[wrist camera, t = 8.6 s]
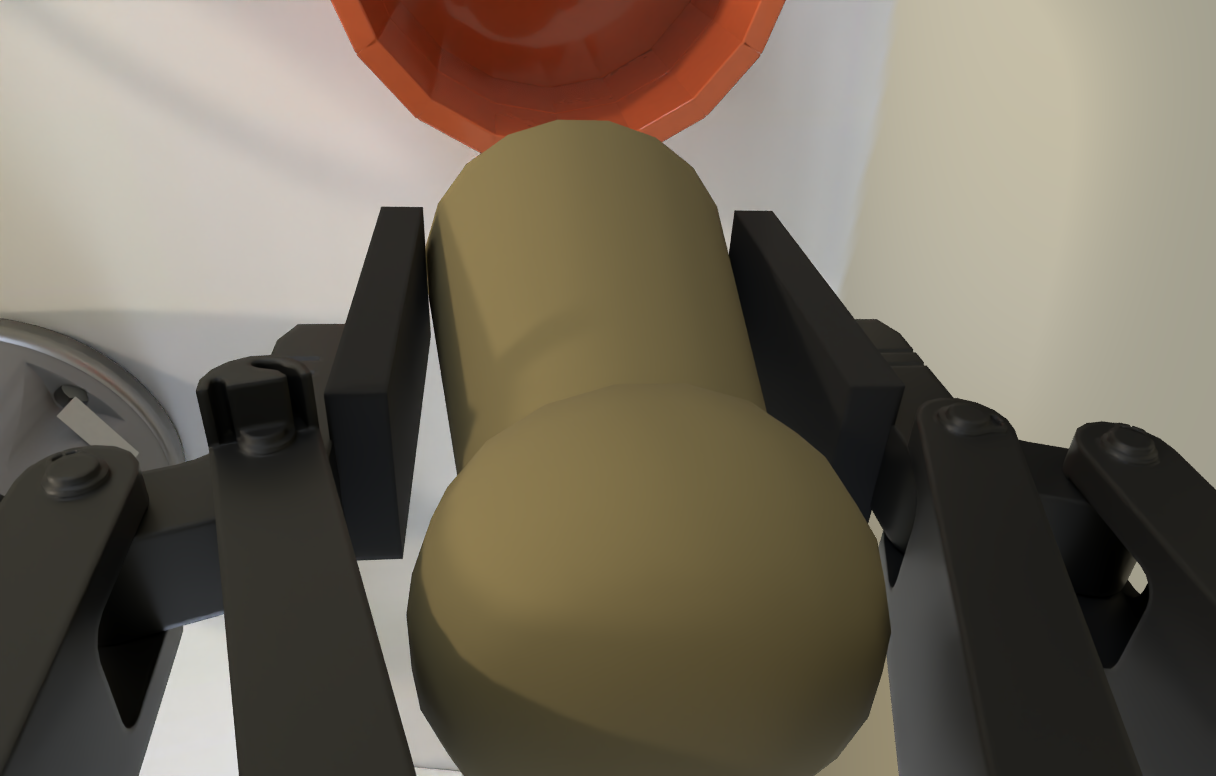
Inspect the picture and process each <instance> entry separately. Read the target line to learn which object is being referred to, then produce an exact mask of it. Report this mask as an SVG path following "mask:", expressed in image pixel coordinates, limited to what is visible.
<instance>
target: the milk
mask: <svg viewBox="0 0 1216 776" xmlns="http://www.w3.org/2000/svg"><path fill="white" fill-rule="evenodd" d="M414 768H415V772H416V775H417V776H463V774H462V773H461V771H450V770H440V769H429V768H418V767H414Z"/></svg>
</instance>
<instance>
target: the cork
mask: <svg viewBox="0 0 1216 776" xmlns="http://www.w3.org/2000/svg"><path fill="white" fill-rule="evenodd" d="M425 250H426V267H427V283H428V295H429V302H430V308H431V314H432V320H433V327H434V333H435V339H436V345H437V352H438V358H439V364H440V370H441V377H442V383H443V389H444V395H445V402H446V408H447V414H448V420H449V427H450V433H451V439H452V445H453V452H454V458H455V464H456V470H457V477H456V478H455V479H454V480H453V481H452V483H451V484H450V485H449V486H448V487H447V489H446V491H445V493H444V495H443V497H442V499H441V501H440V503H439V505H438V506H437V508H436V510H435V512H434V514H433V516H432V518H431V521H430V524H429V527H428V529H427V532H426V535H425V538H424V541H423V544H422V547H421V550H420V552H419V555H418V558H417V561H416V564H415V567H414V570H413V572H412V577H411V584H410V592H409V599H408V606H407V614H406V616H407V626H408V636H409V646H410V656H411V666H412V672H413V677H414V682H415V686H416V691H417V696H418V700H419V705H420V709H421V711H422V713H423V714H424V716H425V718H426V719H427V721H428V722H429V724H430V726H431V727H432V729H433V731H434V732H435V734H436V735H437V737H438V739H439V740H440V742H441V743H442V745H443V747H444V748H445V750H446V752H447V753H448V755H449V756H450V757H451V759H452V760H453V762H454V763H455V764H456V766H457V767H458V769H459V770H460V771H461V773H462V774H463V776H814V775H816V774H817V773H818V772H820V771H821V770H822V769H823V768H825V767H826V766H827V765H829V764H830V763H831V762H833V761H834V760H835V759H836V758H837V757H838V756H839V755H840V754H841V752H842V751H843V750H844V748H845V747H846V746H847V744H848V743H849V742H850V740H851V739H852V738H853V736H854V735H855V734H856V733H857V731H858V730H859V729H860V727H861V726H862V725H863V723H864V722H865V721H866V720H867V718H868V716H869V713H870V710H871V707H872V704H873V700H874V697H875V694H876V691H877V688H878V685H879V682H880V678H881V675H882V672H883V667H884V663H885V658H886V654H887V650H888V645H889V641H890V636H891V625H890V617H889V610H888V602H887V594H886V587H885V580H884V574H883V569H882V564H881V559H880V553H879V548H878V543H877V539H876V537H875V535H874V534H873V532H872V530H871V529H870V527H869V525H868V523H867V522H866V520H865V518H864V517H863V515H862V513H861V511H860V510H859V508H858V506H857V504H856V503H855V501H854V500H853V498H852V497H851V495H850V494H849V492H848V491H847V489H846V488H845V486H844V485H843V483H842V482H841V480H840V479H839V477H838V476H837V474H836V472H835V471H834V469H833V468H832V466H831V465H830V463H829V462H828V460H827V459H826V457H825V456H824V455H822V454H821V453H820V452H819V451H818V450H816V449H815V448H814V447H813V446H812V445H811V444H809V443H808V442H807V441H806V440H805V439H803V438H802V437H801V436H800V435H799V434H798V433H796V432H795V431H793V430H792V429H790V428H789V427H787V426H786V425H784V424H783V423H781V422H780V421H778V420H777V419H775V418H774V417H773V416H771V415H770V414H768V413H767V411H766V406H765V402H764V398H763V394H762V390H761V386H760V382H759V378H758V374H757V369H756V365H755V361H754V357H753V353H752V349H751V345H750V341H749V337H748V332H747V328H746V324H745V320H744V316H743V312H742V308H741V304H740V300H739V295H738V291H737V287H736V283H735V279H734V275H733V271H732V267H731V263H730V258H729V254H728V250H727V246H726V242H725V238H724V234H723V230H722V226H721V221H720V217H719V213H718V209H717V206H716V204H715V202H714V201H713V199H712V198H711V196H710V194H709V193H708V191H707V189H706V188H705V186H704V185H703V183H702V181H701V180H700V178H699V176H698V175H697V173H696V172H695V170H694V168H693V167H692V166H691V165H689V164H688V163H687V162H686V161H684V160H683V159H682V158H681V157H679V156H678V155H677V154H676V153H674V152H673V151H672V150H671V149H669V148H668V147H667V146H666V145H664V144H663V143H662V142H661V141H659V140H658V139H657V138H656V137H653V136H650V135H647V134H644V133H642V132H639V131H636V130H633V129H630V128H628V127H625V126H622V125H619V124H616V123H614V122H611V121H597V120H555V121H551V122H548V123H545V124H541V125H538V126H535V127H532V128H528V129H525V130H522V131H519V132H515V133H512V134H509V135H507V136H505V137H504V138H503V139H501V140H500V141H498V142H497V143H496V144H494V145H493V146H491V147H490V148H489V149H487V150H486V151H484V152H483V153H481V154H480V155H479V156H477V157H476V158H474V159H473V160H472V161H470V162H469V163H467V164H466V166H465V167H464V168H463V170H462V171H461V172H460V174H459V175H458V177H457V178H456V179H455V181H454V182H453V184H452V185H451V186H450V188H449V189H448V191H447V192H446V193H445V195H444V196H443V198H442V199H441V200H440V202H439V203H438V206H437V209H436V213H435V216H434V220H433V223H432V226H431V230H430V233H429V237H428V240H427V244H426V247H425Z"/></svg>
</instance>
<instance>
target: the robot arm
mask: <svg viewBox="0 0 1216 776" xmlns="http://www.w3.org/2000/svg"><path fill="white" fill-rule="evenodd" d="M729 258H730V263H731V267H732V271H733V275H734V279H735V283H736V287H737V291H738V295H739V300H740V304H741V308H742V312H743V316H744V320H745V324H746V328H747V332H748V337H749V341H750V345H751V349H752V353H753V357H754V361H755V365H756V369H757V374H758V378H759V382H760V386H761V390H762V394H763V398H764V402H765V406H766V411H767V413H768V414H770V415H771V416H773V417H774V418H775V419H777V420H778V421H780V422H781V423H783V424H784V425H786V426H787V427H789V428H790V429H792V430H793V431H795V432H796V433H798V434H799V435H800V436H801V437H802V438H803V439H805V440H806V441H807V442H808V443H809V444H811V445H812V446H813V447H814V448H815V449H816V450H818V451H819V452H820V453H821V454H822V455H824V456H825V457H826V459H827V460H828V462H829V463H830V465H831V466H832V468H833V469H834V471H835V472H836V474H837V476H838V477H839V479H840V480H841V482H842V483H843V485H844V486H845V488H846V489H847V491H848V492H849V494H850V495H851V497H852V498H853V500H854V501H855V503H856V504H857V506H858V508H859V510H860V511H861V513H862V515H863V517H864V518H865V520H866V522H867V523H868V522H869V518H870V515H871V511H873V513H874V514H875V516H876V518H877V519H878V521H879V523H880V525H881V527H882V528H883V533H882V537H881V541H880V544H879V547H878V548H879V553H880V559H881V564H882V569H883V574H884V580H885V587H886V594H887V602H888V610H889V617H890V625H891V636H890V641H889V645H888V650H887V664H888V673H889V683H890V693H891V703H892V713H893V722H894V732H895V742H896V751H897V761H898V771H899V776H1216V490H1215V489H1214V487H1212V486H1211V485H1210V484H1209V483H1208V482H1207V481H1206V480H1205V479H1204V478H1203V477H1202V476H1201V475H1200V474H1199V473H1198V472H1197V471H1196V470H1195V469H1194V468H1193V467H1192V466H1191V465H1190V464H1189V463H1188V462H1187V461H1186V460H1185V459H1184V458H1183V457H1182V456H1181V455H1180V454H1178V452H1176V451H1175V450H1174V449H1173V448H1172V447H1171V446H1169V445H1167V444H1166V443H1165V442H1164V441H1162V440H1161V439H1160V438H1158V437H1155V436H1153V435H1151V434H1149V433H1147V432H1146V431H1145V430H1143V429H1140V428H1138V427H1135V426H1132V427H1130V425H1128V424H1123V423H1110V422H1093V423H1086V424H1084V425H1083V426H1081V427H1079V428H1077V430H1076V433H1075V436H1074V438H1073V440H1072V443H1071V445H1070V448H1069V449H1067V448H1062V447H1056V446H1049V445H1044V444H1038V443H1032V442H1026V441H1022V440H1018V437H1017V435H1016V432H1015V430H1014V428H1013V427H1012V425H1011V424H1010V423H1009V421H1008V420H1007V419H1006V418H1004V417H1003V416H1001V415H1000V414H999V413H997V412H996V411H995V410H993V409H990V408H988V407H986V406H983V405H981V404H978V403H976V402H972V401H967V400H963V399H959V398H953V397H952V395H951V394H950V393H949V392H948V391H947V389H946V388H945V387H944V386H943V385H942V384H941V382H940V381H939V380H938V379H937V377H936V376H935V375H934V374H933V373H932V372H931V370H930V369H929V368H928V367H927V366H924V362H923V361H922V359H921V358H920V357H919V356H918V355H917V353H914V352H913V349H912V347H910V345H909V344H908V343H907V341H905V339H904V338H903V337H902V335H901V334H900V333H898V332H897V331H895V330H893V329H892V328H890V327H889V326H887V325H885V324H884V323H882V322H880V321H879V320H877V319H854V318H853V316H852V315H851V314H850V312H849V311H848V310H847V309H846V307H845V306H844V305H843V303H842V302H841V301H840V299H839V298H838V297H837V295H836V294H835V293H834V291H833V290H832V289H831V287H830V286H829V285H828V284H827V282H826V281H825V280H824V278H823V277H822V276H821V274H820V273H819V272H818V270H817V269H816V268H815V266H814V265H813V264H812V263H811V261H810V260H809V259H808V257H807V256H806V255H805V253H804V252H803V251H802V249H801V248H800V247H799V245H798V244H797V243H796V242H795V240H794V239H793V238H792V236H791V235H790V234H789V232H788V231H787V230H786V228H785V227H784V226H783V224H782V223H781V222H780V221H779V219H778V218H777V217H776V215H775V214H774V213H773V211H735V212H734V219H733V227H732V234H731V242H730V249H729ZM430 338H431V332H430V315H429V299H428V283H427V267H426V250H425V234H424V218H423V207H381V210H380V213H379V216H378V219H377V223H376V226H375V229H374V232H373V236H372V239H371V242H370V245H369V248H368V252H367V255H366V258H365V261H364V265H363V268H362V271H361V274H360V278H359V281H358V284H357V287H356V291H355V294H354V297H353V300H352V304H351V307H350V310H349V313H348V317H347V320H346V323H345V324H298V325H296V326H295V327H294V328H292V329H291V330H290V331H289V332H287V333H286V334H285V335H283V336H282V337H281V338H279V339H278V340H277V342H276V345H275V347H274V349H273V352H272V354H271V355H264V356H250V357H245V358H241V359H237V360H233V361H229V362H227V363H225V364H222V365H220V366H218V367H216V368H214V369H212V370H210V371H209V372H208V373H207V374H206V375H205V376H204V377H202V378H201V379H200V380H199V383H198V386H197V389H196V394H197V399H198V403H199V407H200V412H201V416H202V420H203V425H204V429H205V434H206V438H207V442H208V447H209V454H207V455H205V456H202V457H200V458H197V459H195V460H191V461H188V462H185V458H184V453H183V449H182V446H181V443H180V440H179V437H178V435H177V432H176V430H175V428H174V426H173V424H172V422H171V421H170V419H169V417H168V416H167V414H166V413H165V411H164V410H163V408H162V407H161V406H160V404H159V403H158V402H157V400H156V399H155V398H154V397H153V396H152V395H151V394H150V392H149V391H148V390H147V389H146V388H145V387H144V386H143V385H142V384H141V383H140V382H139V381H138V380H136V379H135V378H134V377H133V376H132V375H131V374H130V373H128V372H127V371H126V370H124V369H123V368H122V367H121V366H119V365H118V364H116V363H115V362H113V361H112V360H111V359H109V358H108V357H106V356H105V355H103V354H101V353H99V352H98V351H96V350H94V349H92V348H91V347H89V346H87V345H85V344H83V343H80V342H78V341H76V340H74V339H72V338H70V337H67V336H65V335H62V334H60V333H57V332H54V331H51V330H48V329H45V328H42V327H39V326H35V325H31V324H27V323H23V322H19V321H13V320H7V319H1V318H0V776H139V773H140V769H141V766H142V763H143V760H144V756H145V753H146V750H147V747H148V743H149V740H150V737H151V734H152V730H153V727H154V724H155V721H156V717H157V714H158V711H159V708H160V704H161V701H162V698H163V695H164V691H165V688H166V685H167V682H168V678H169V675H170V672H171V669H172V665H173V662H174V659H175V656H176V652H177V649H178V646H179V643H180V639H181V636H182V633H183V625H187V624H190V623H194V622H198V621H201V620H205V619H208V618H212V617H216V616H219V615H223V614H224V618H225V629H226V640H227V651H228V661H229V672H230V683H231V694H232V705H233V716H234V726H235V737H236V748H237V759H238V770H239V776H417V775H416V772H415V768H414V765H413V761H412V757H411V754H410V750H409V747H408V743H407V739H406V736H405V732H404V729H403V725H402V722H401V718H400V714H399V711H398V707H397V704H396V700H395V696H394V693H393V689H392V686H391V682H390V678H389V675H388V671H387V668H386V664H385V661H384V657H383V653H382V650H381V646H380V643H379V639H378V635H377V632H376V628H375V625H374V621H373V618H372V614H371V610H370V607H369V603H368V600H367V596H366V592H365V589H364V585H363V582H362V578H361V575H360V571H359V567H358V564H357V560H382V559H403V552H404V544H405V536H406V528H407V520H408V512H409V504H410V496H411V488H412V480H413V473H414V465H415V457H416V449H417V441H418V433H419V425H420V417H421V409H422V401H423V393H424V385H425V378H426V370H427V362H428V354H429V346H430ZM1136 562H1138V563H1139V564H1140V566H1141V567H1142V569H1143V571H1144V573H1145V574H1146V577H1147V581H1148V584H1147V585H1146V588H1145V589H1144V591H1143V592H1142V593H1141V594H1139V593H1138V592H1137V591H1136V590H1135V589H1134V588H1133V586H1132V585H1131V583H1130V582H1129V581H1128V578H1129V576H1130V574H1131V572H1132V569H1133V568H1134V565H1135V564H1136Z"/></svg>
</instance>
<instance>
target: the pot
mask: <svg viewBox="0 0 1216 776" xmlns="http://www.w3.org/2000/svg"><path fill="white" fill-rule="evenodd" d="M785 1H786V0H331V2H332V4H333V6H334V9H335V11H336V13H337V15H338V17H339V19H340V21H341V23H342V25H343V27H344V30H345V32H346V34H347V36H348V38H349V40H350V42H351V44H352V46H353V49H354V51H355V52H356V53H357V56H358V57H359V58H360V59H361V60H362V61H363V62H364V63H365V64H366V65H367V66H368V68H369V69H370V70H371V71H372V72H373V73H374V74H375V75H376V76H377V77H378V78H379V79H380V80H381V81H382V82H383V84H384V85H385V86H386V87H387V88H388V89H389V90H390V91H391V92H392V93H393V94H394V95H395V96H396V97H397V98H398V100H399V101H400V102H401V103H402V104H403V105H404V106H405V107H406V108H407V109H408V110H409V111H410V112H411V113H412V114H413V116H414V117H415V118H418V119H419V120H420V121H422V122H424V123H426V124H428V125H430V126H431V127H433V128H435V129H437V130H439V131H441V132H442V133H444V134H446V135H448V136H450V137H452V138H454V139H455V140H457V141H459V142H461V143H463V144H465V145H467V146H468V147H470V148H472V149H474V150H476V151H478V152H480V153H483V152H484V151H486V150H487V149H489V148H490V147H491V146H493V145H494V144H496V143H497V142H498V141H500V140H501V139H503V138H504V137H505V136H507V135H509V134H512V133H515V132H519V131H522V130H525V129H528V128H532V127H535V126H538V125H541V124H545V123H548V122H551V121H555V120H597V121H611V122H614V123H616V124H619V125H622V126H625V127H628V128H630V129H633V130H636V131H639V132H642V133H644V134H647V135H650V136H653V137H656V138H657V139H658V140H659V141H661V142H663V141H665V140H667V139H668V138H670V137H672V136H674V135H675V134H677V133H679V132H681V131H682V130H684V129H686V128H688V127H689V126H691V125H693V124H694V123H696V122H698V121H700V120H701V119H703V118H705V117H706V116H707V115H708V114H709V113H710V112H711V111H712V110H713V109H714V108H715V106H716V105H717V104H718V103H719V102H720V101H721V100H722V99H723V97H724V96H725V95H726V94H727V93H728V92H729V91H730V89H731V88H732V87H733V86H734V85H735V84H736V83H737V82H738V80H739V79H740V78H741V77H742V76H743V75H744V74H745V73H746V71H747V70H748V69H749V68H750V67H751V66H752V65H753V64H754V62H755V61H756V60H757V59H758V58H759V57H760V54H761V53H762V52H763V50H764V48H765V45H766V43H767V41H768V39H769V37H770V34H771V32H772V30H773V28H774V25H775V23H776V21H777V19H778V16H779V14H780V12H781V10H782V7H783V5H784V3H785Z"/></svg>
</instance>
